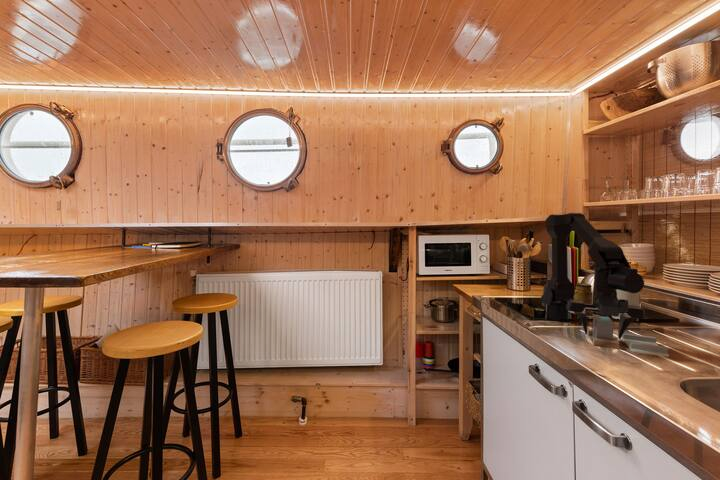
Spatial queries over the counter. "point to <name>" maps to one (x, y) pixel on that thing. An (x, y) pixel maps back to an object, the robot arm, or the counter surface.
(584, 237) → the robot arm
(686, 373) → the counter surface
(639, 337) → the cradle
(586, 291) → the condiment
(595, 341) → the walnut dock
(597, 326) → the plug
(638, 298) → the travel mug
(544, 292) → the supplement bottle
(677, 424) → the counter surface
